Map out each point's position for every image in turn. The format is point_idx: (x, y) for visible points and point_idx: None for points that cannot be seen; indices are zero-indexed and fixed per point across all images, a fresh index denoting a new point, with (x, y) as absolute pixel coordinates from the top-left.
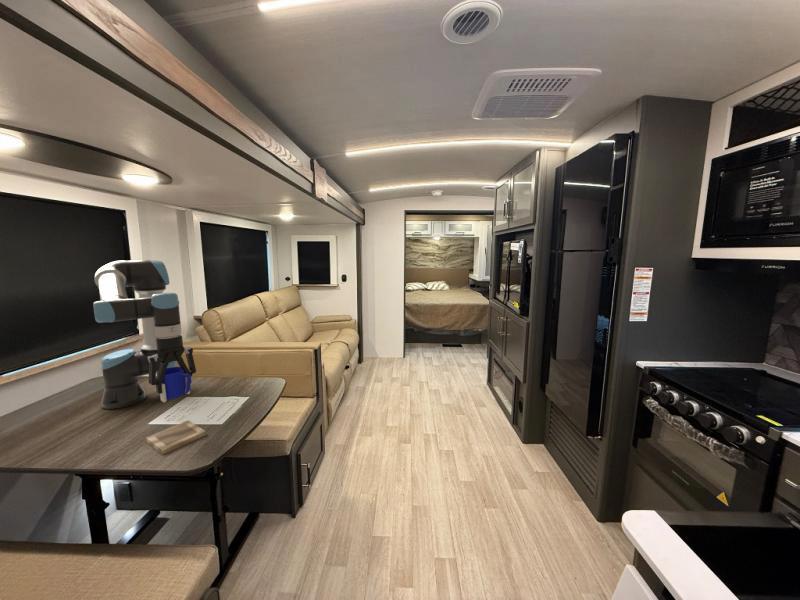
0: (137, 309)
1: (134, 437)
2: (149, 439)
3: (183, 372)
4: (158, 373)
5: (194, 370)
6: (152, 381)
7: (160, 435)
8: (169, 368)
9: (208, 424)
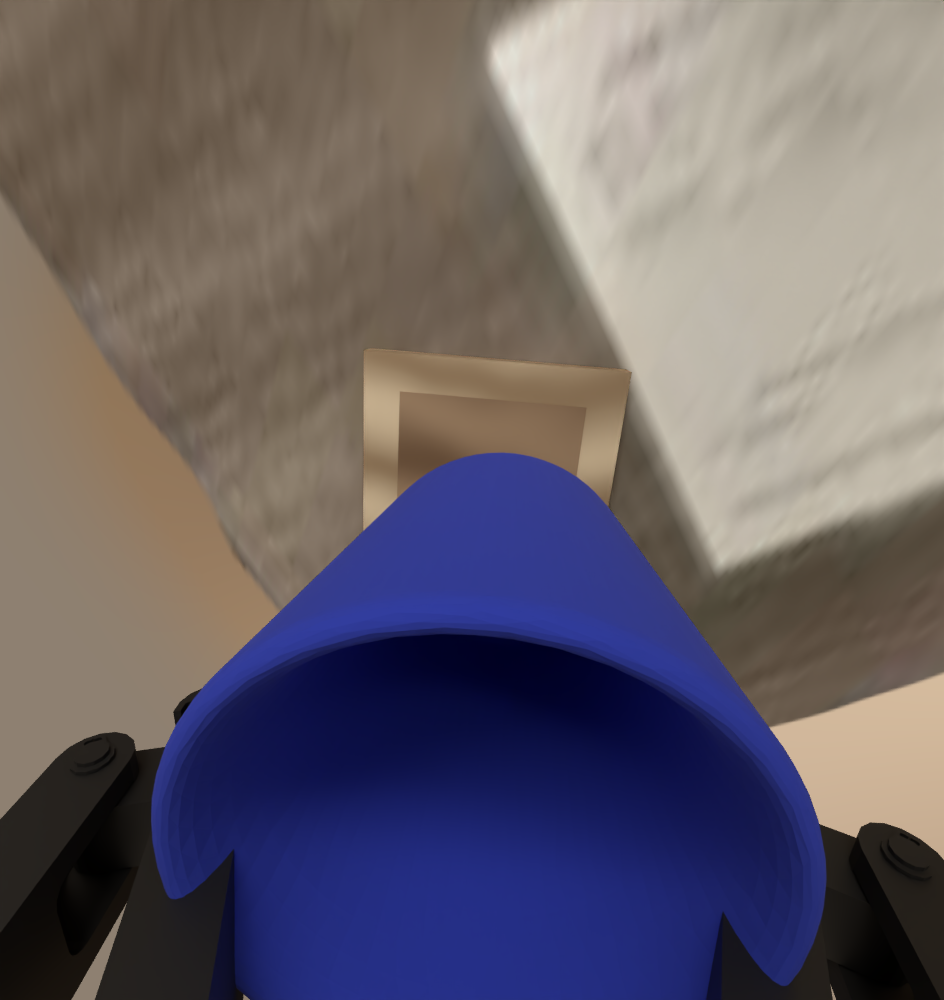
0: None
1: (347, 215)
2: (368, 400)
3: (650, 979)
4: (122, 974)
5: (875, 994)
6: (65, 906)
7: (424, 416)
8: (589, 657)
9: (676, 500)
